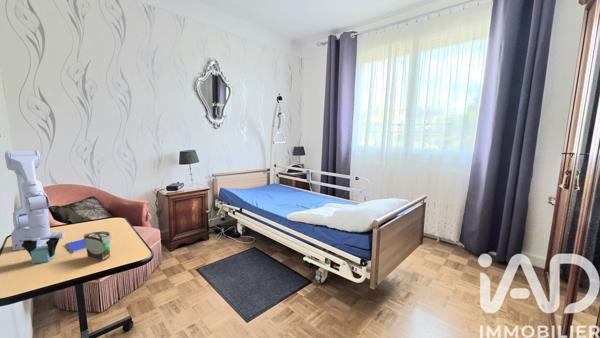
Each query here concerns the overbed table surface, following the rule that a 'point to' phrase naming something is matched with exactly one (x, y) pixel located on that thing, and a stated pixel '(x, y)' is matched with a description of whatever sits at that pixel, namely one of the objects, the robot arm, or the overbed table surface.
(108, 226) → the overbed table surface
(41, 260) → the cube
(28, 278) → the overbed table surface
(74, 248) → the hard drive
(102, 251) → the food container
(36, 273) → the overbed table surface
